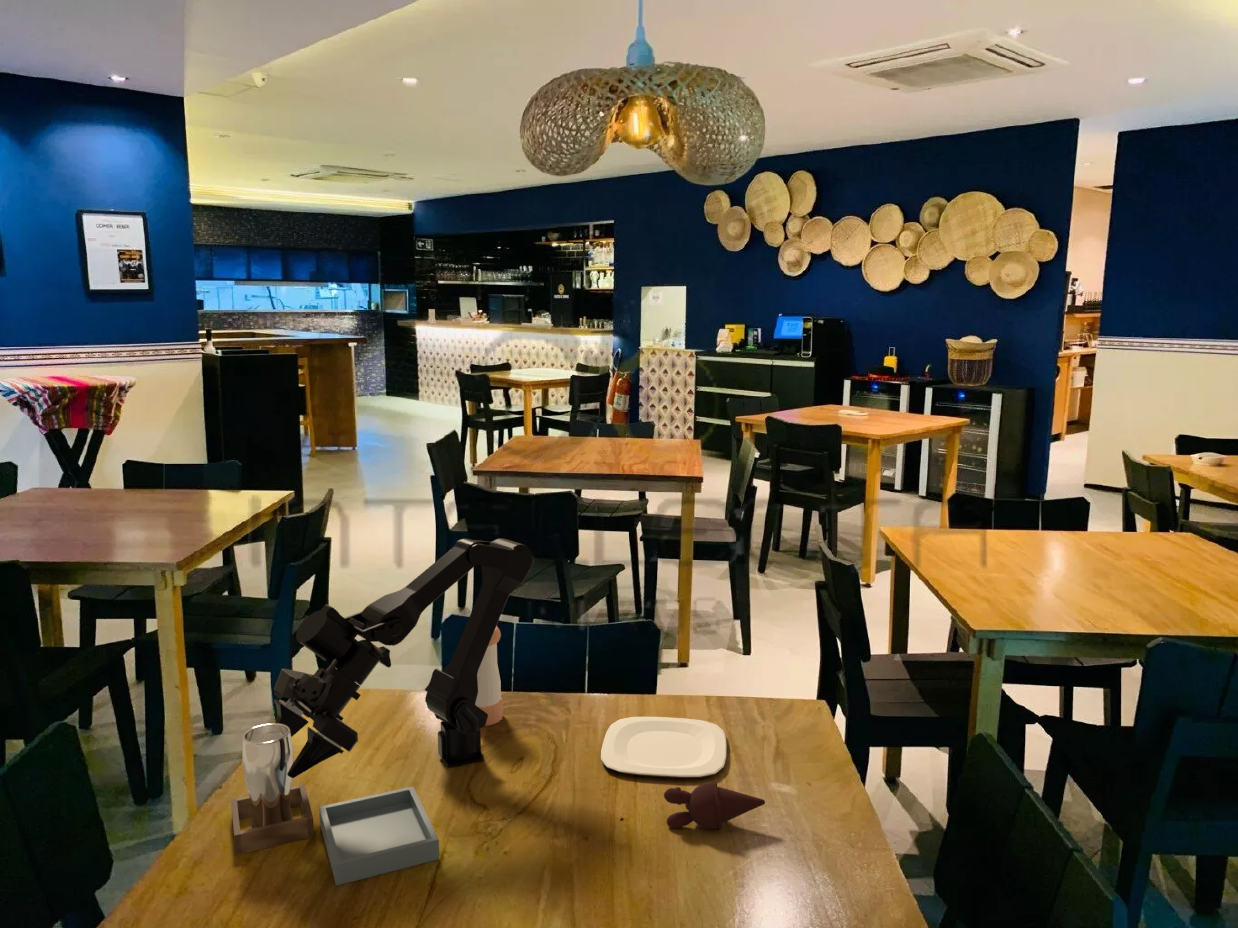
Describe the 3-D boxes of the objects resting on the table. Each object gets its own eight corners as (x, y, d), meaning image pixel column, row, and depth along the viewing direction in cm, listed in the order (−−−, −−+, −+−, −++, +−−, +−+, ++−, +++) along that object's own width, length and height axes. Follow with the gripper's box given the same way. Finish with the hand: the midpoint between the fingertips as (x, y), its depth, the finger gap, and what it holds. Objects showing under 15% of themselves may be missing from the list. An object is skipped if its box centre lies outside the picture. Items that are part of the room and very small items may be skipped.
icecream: (759, 771, 138) (662, 778, 138) (766, 784, 131) (663, 791, 131) (763, 817, 137) (666, 825, 138) (770, 833, 130) (667, 841, 130)
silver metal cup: (280, 843, 130) (274, 746, 127) (237, 837, 131) (230, 741, 129) (306, 817, 136) (301, 724, 134) (265, 812, 138) (259, 720, 135)
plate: (594, 779, 149) (594, 770, 148) (611, 721, 170) (611, 713, 170) (726, 787, 146) (726, 778, 146) (726, 728, 167) (726, 719, 167)
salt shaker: (470, 729, 166) (467, 630, 163) (460, 713, 172) (457, 617, 169) (507, 721, 169) (506, 624, 166) (496, 706, 175) (494, 612, 172)
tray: (413, 803, 140) (413, 786, 140) (439, 859, 126) (438, 839, 125) (320, 825, 134) (319, 806, 134) (336, 885, 120) (335, 865, 120)
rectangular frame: (305, 801, 141) (304, 784, 140) (314, 836, 131) (313, 817, 131) (232, 817, 136) (231, 799, 136) (235, 855, 127) (234, 835, 126)
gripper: (283, 632, 141) (214, 718, 135) (334, 667, 127) (259, 764, 122) (333, 668, 147) (269, 751, 142) (387, 704, 133) (318, 798, 128)
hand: (277, 764), depth 133 cm, fingers open, 9 cm apart
